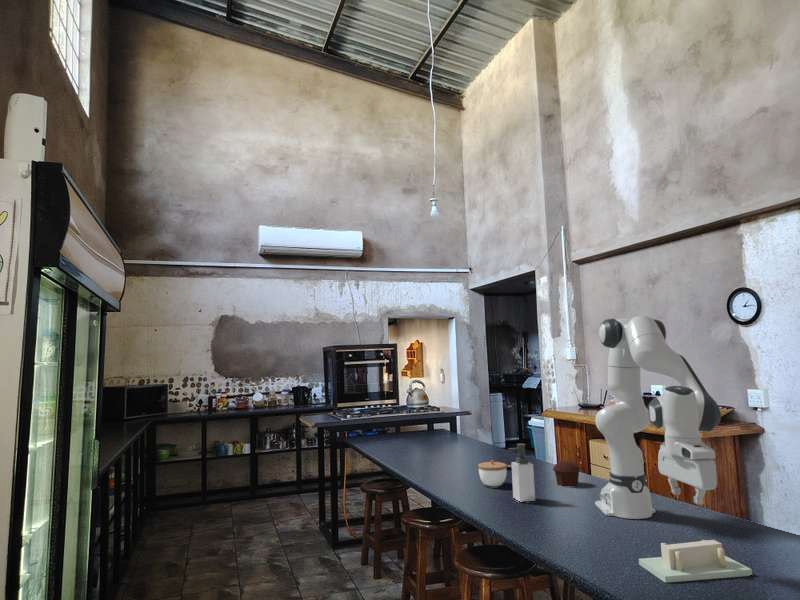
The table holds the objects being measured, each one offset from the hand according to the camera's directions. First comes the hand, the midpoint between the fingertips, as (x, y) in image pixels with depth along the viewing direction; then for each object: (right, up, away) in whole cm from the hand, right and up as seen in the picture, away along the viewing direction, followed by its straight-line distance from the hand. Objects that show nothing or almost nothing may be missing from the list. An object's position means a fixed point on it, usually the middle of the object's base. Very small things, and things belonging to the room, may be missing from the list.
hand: (687, 498), depth 143 cm
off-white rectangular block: (+1, -17, -2) cm, 17 cm away
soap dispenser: (-29, -27, +69) cm, 79 cm away
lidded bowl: (-36, -30, +94) cm, 105 cm away
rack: (+1, -18, -2) cm, 18 cm away
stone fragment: (-24, -33, +127) cm, 134 cm away
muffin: (-4, -28, +92) cm, 96 cm away
